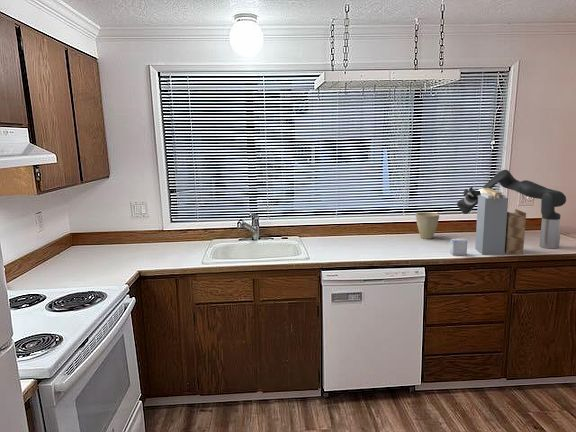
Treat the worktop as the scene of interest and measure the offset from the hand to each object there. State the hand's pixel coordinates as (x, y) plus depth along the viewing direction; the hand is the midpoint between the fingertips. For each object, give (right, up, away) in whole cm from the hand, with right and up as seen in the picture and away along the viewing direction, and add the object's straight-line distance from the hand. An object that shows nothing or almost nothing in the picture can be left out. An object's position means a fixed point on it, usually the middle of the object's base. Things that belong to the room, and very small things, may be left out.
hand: (479, 188), depth 270 cm
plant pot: (-28, -32, +16) cm, 45 cm away
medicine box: (-23, -40, -25) cm, 52 cm away
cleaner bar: (-4, -6, -25) cm, 26 cm away
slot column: (-3, -38, -21) cm, 44 cm away
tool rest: (+9, -38, -21) cm, 44 cm away
